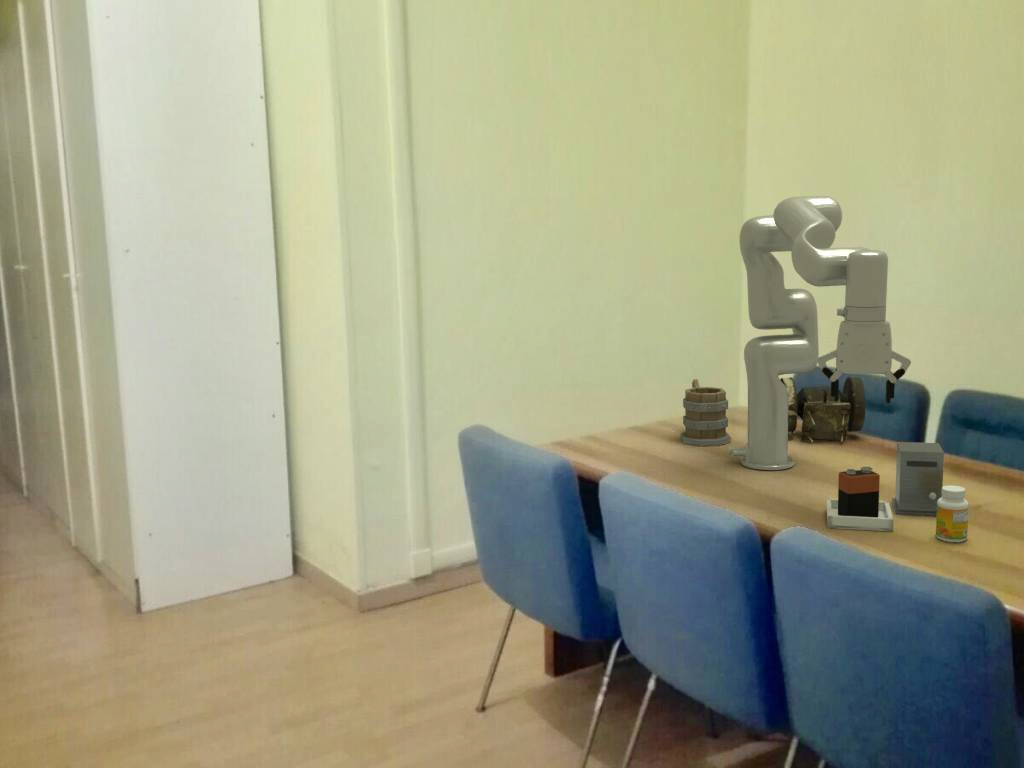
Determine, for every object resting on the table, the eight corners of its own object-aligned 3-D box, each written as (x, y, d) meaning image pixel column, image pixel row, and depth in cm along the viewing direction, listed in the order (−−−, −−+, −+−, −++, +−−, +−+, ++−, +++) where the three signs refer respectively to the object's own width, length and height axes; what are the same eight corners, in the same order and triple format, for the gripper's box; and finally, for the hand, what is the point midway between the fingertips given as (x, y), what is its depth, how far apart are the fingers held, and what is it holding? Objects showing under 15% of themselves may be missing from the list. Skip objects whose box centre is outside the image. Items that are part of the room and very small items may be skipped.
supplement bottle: (930, 534, 186) (932, 485, 185) (957, 532, 187) (959, 483, 185) (944, 543, 181) (947, 493, 179) (972, 542, 181) (975, 491, 180)
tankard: (733, 445, 260) (734, 390, 257) (685, 447, 260) (685, 391, 257) (718, 429, 279) (718, 377, 277) (674, 430, 280) (674, 378, 277)
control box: (895, 514, 199) (897, 451, 197) (891, 500, 208) (893, 441, 205) (944, 516, 196) (947, 453, 194) (938, 503, 205) (941, 442, 203)
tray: (827, 528, 192) (827, 516, 192) (826, 509, 203) (826, 498, 203) (893, 531, 189) (893, 519, 188) (888, 512, 200) (888, 501, 199)
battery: (879, 518, 195) (881, 469, 193) (848, 521, 193) (849, 472, 192) (867, 512, 199) (868, 464, 197) (836, 515, 198) (837, 467, 196)
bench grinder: (773, 415, 279) (775, 357, 267) (854, 411, 275) (860, 352, 264) (783, 462, 262) (785, 403, 251) (869, 458, 259) (875, 398, 247)
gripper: (818, 317, 189) (815, 403, 192) (914, 317, 184) (910, 406, 187) (818, 312, 196) (815, 395, 199) (911, 312, 191) (907, 398, 194)
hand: (861, 401), depth 193 cm, fingers open, 9 cm apart
